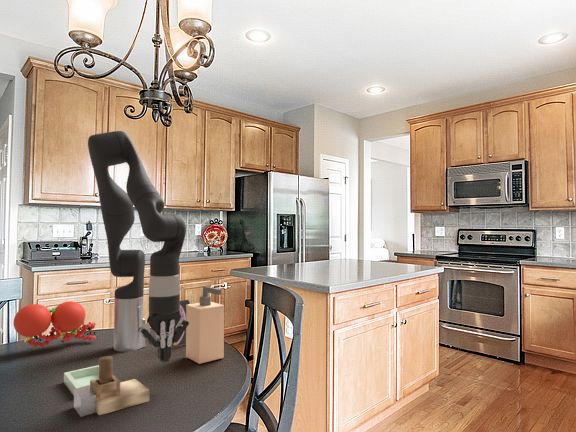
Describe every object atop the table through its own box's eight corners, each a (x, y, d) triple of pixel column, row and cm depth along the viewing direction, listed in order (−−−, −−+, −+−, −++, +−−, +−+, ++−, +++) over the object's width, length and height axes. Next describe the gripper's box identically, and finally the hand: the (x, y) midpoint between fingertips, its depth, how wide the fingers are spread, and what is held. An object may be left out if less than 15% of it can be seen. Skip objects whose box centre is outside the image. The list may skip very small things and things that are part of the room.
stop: (88, 403, 89) (88, 386, 89) (95, 413, 84) (96, 394, 85) (73, 407, 87) (74, 389, 87) (80, 417, 82) (80, 398, 83)
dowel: (110, 389, 90) (110, 355, 91) (113, 393, 88) (113, 358, 88) (97, 393, 89) (97, 357, 89) (100, 397, 87) (100, 361, 87)
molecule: (18, 360, 118) (19, 309, 119) (9, 352, 125) (10, 304, 126) (102, 342, 137) (103, 298, 137) (90, 336, 144) (90, 294, 144)
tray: (100, 373, 107) (100, 364, 107) (116, 388, 97) (116, 378, 97) (63, 382, 101) (63, 372, 101) (76, 399, 91) (76, 388, 91)
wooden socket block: (135, 390, 97) (135, 366, 97) (149, 403, 90) (149, 377, 91) (87, 404, 90) (87, 377, 90) (98, 418, 83) (99, 390, 83)
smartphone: (171, 347, 131) (172, 302, 131) (170, 347, 131) (170, 302, 131) (189, 342, 136) (190, 299, 137) (188, 341, 137) (188, 299, 137)
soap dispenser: (185, 356, 121) (186, 286, 122) (209, 351, 127) (210, 283, 128) (206, 367, 112) (206, 291, 112) (231, 361, 117) (231, 288, 118)
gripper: (181, 287, 105) (181, 351, 105) (132, 293, 97) (132, 363, 96) (195, 291, 100) (195, 359, 100) (144, 298, 91) (144, 372, 91)
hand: (164, 361), depth 98 cm, fingers closed
